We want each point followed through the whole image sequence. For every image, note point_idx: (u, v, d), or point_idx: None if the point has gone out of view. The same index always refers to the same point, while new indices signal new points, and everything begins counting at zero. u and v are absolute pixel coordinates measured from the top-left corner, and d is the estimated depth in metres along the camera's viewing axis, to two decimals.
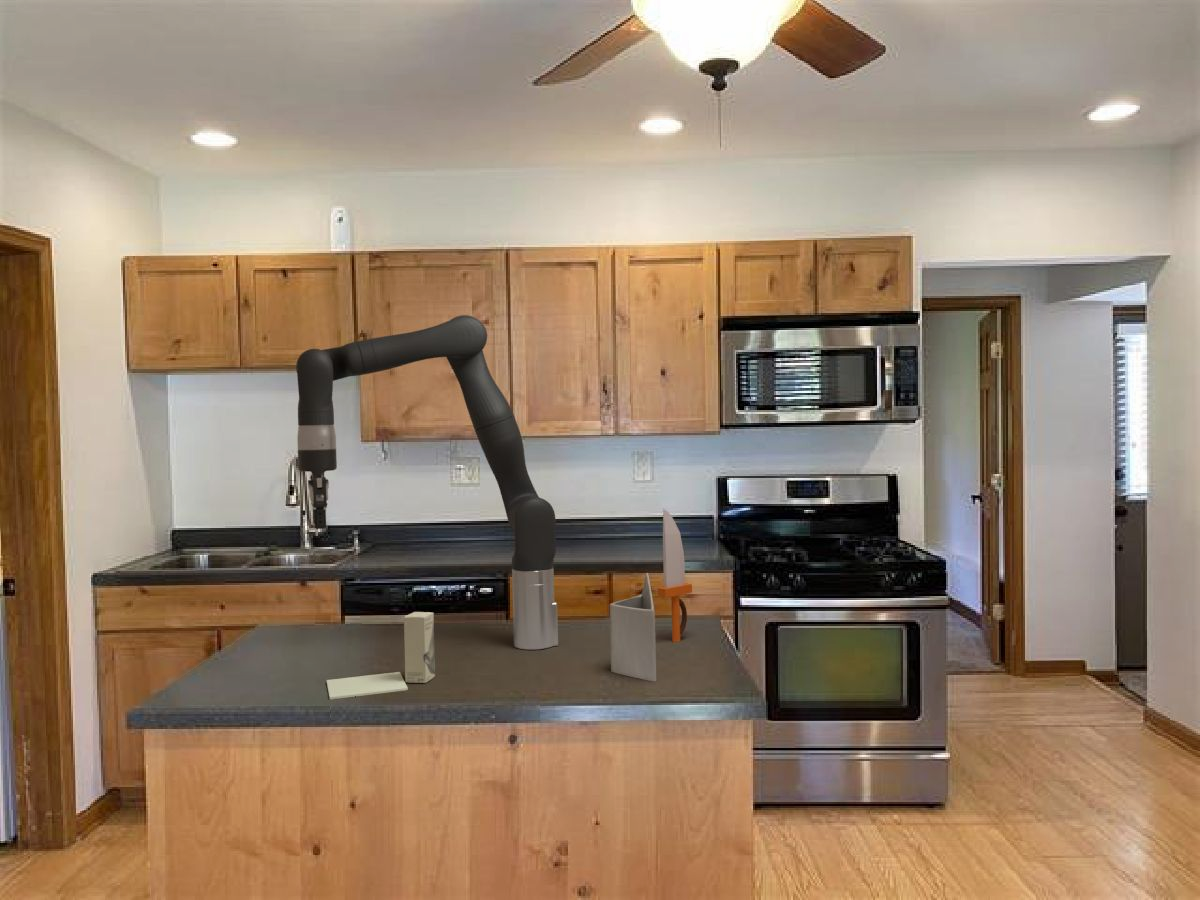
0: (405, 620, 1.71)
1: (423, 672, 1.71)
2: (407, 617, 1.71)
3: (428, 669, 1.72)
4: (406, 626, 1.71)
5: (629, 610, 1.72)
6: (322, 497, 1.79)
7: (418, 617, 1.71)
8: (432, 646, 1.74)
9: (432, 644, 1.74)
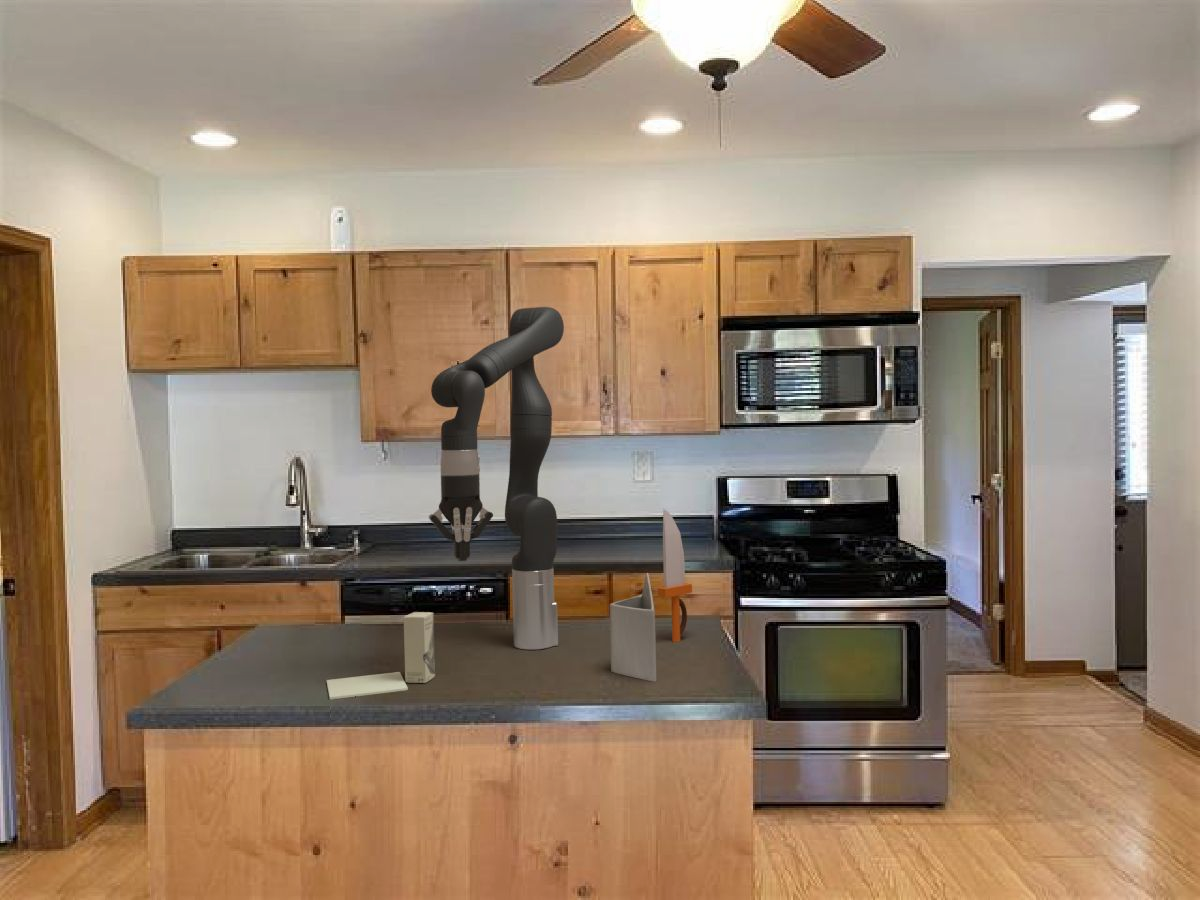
0: (405, 620, 1.71)
1: (423, 671, 1.71)
2: (407, 617, 1.71)
3: (428, 669, 1.72)
4: (406, 626, 1.71)
5: (629, 610, 1.72)
6: None
7: (418, 617, 1.71)
8: (432, 646, 1.74)
9: (432, 644, 1.74)
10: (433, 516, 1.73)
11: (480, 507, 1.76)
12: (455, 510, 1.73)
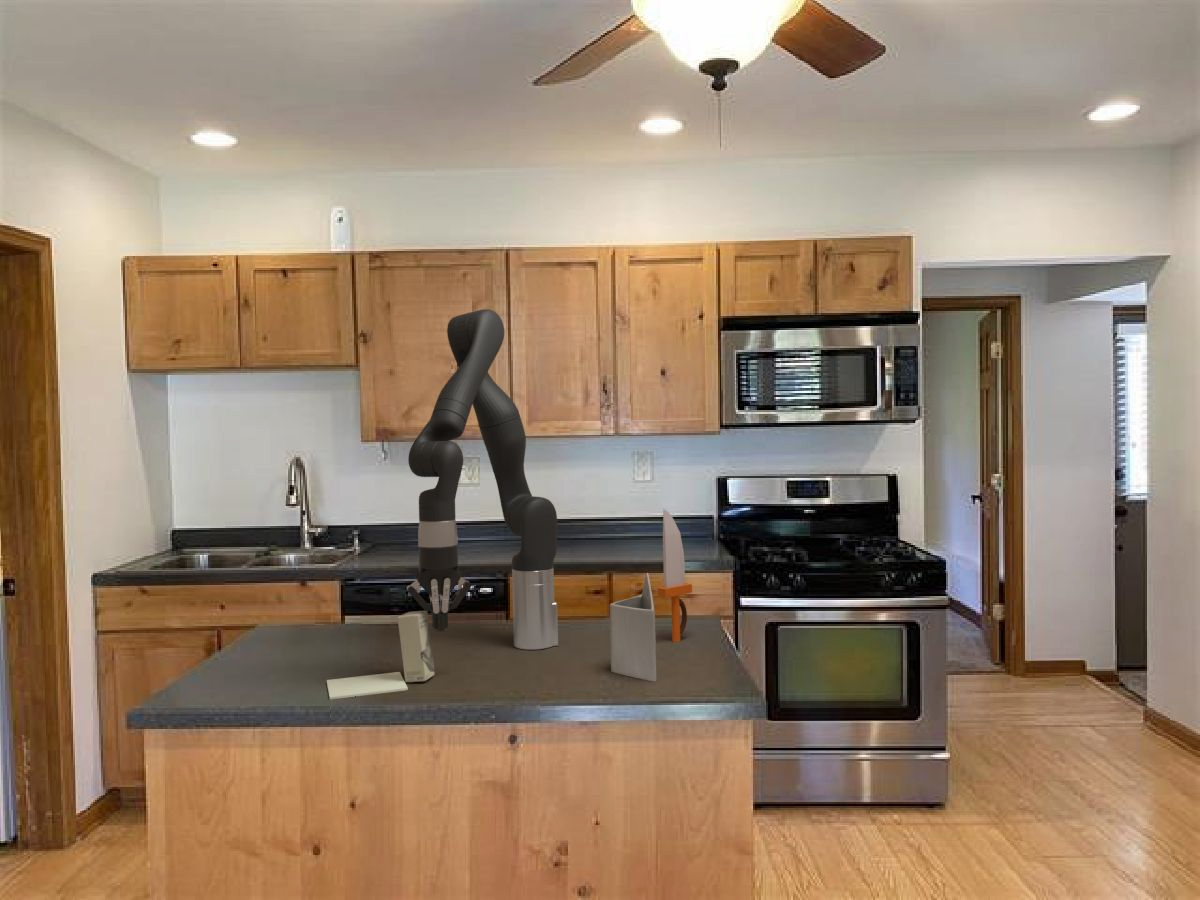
0: (399, 620, 1.72)
1: (422, 670, 1.71)
2: (401, 617, 1.72)
3: (426, 667, 1.72)
4: (401, 626, 1.72)
5: (629, 610, 1.72)
6: None
7: (412, 616, 1.71)
8: (429, 644, 1.75)
9: (429, 642, 1.75)
10: (410, 588, 1.71)
11: (458, 577, 1.75)
12: (433, 581, 1.72)
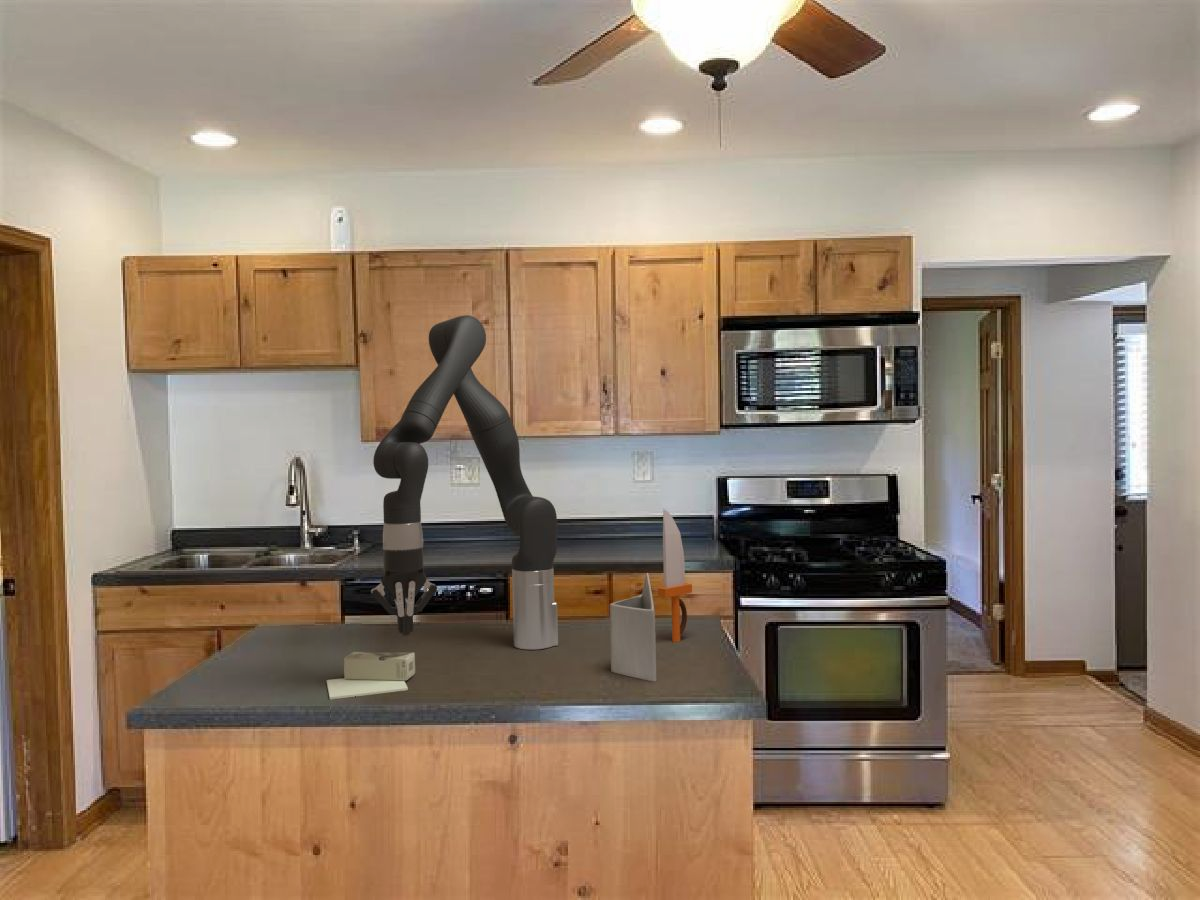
0: (347, 677, 1.73)
1: (395, 660, 1.72)
2: (344, 675, 1.73)
3: (397, 656, 1.73)
4: (353, 676, 1.73)
5: (629, 610, 1.72)
6: None
7: (344, 664, 1.73)
8: (382, 653, 1.76)
9: (381, 653, 1.76)
10: (375, 591, 1.69)
11: (424, 580, 1.72)
12: (397, 585, 1.70)
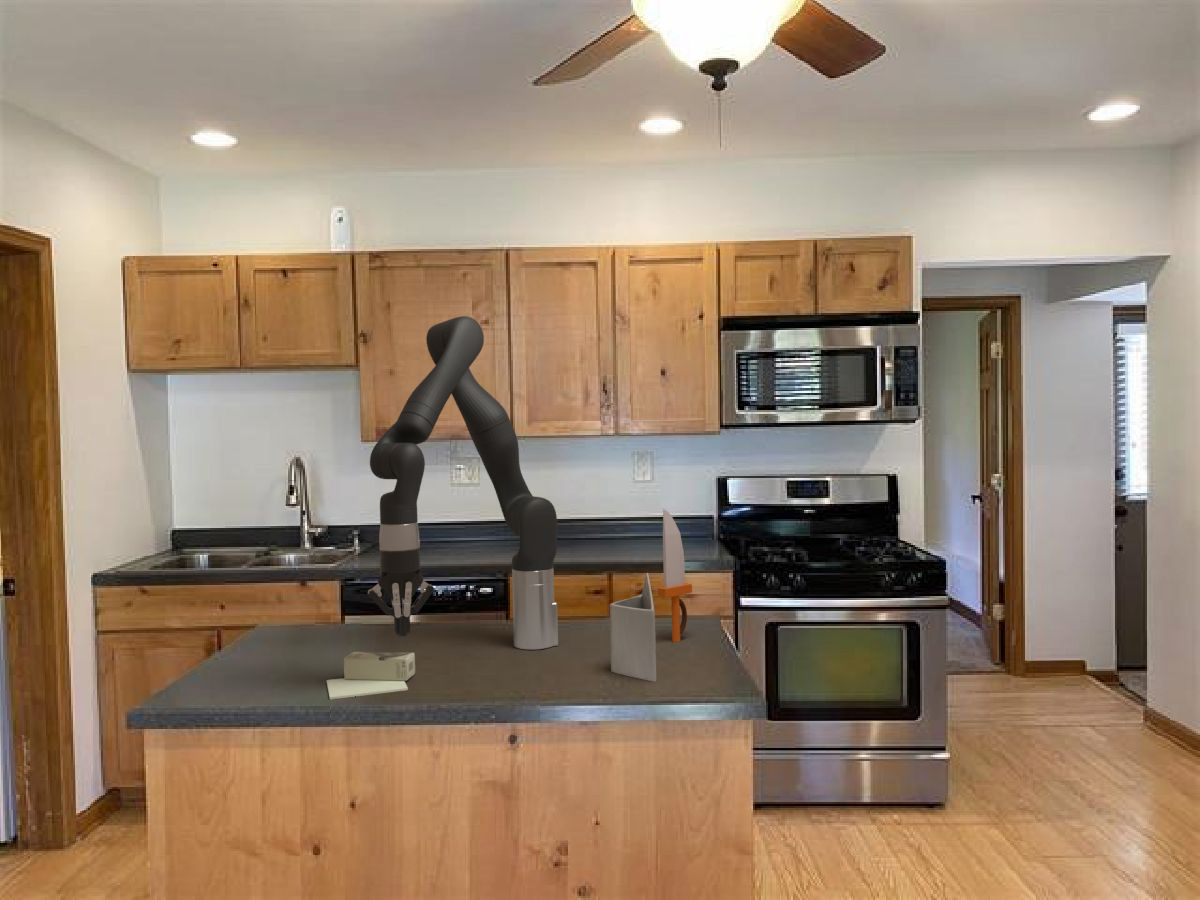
0: (347, 677, 1.73)
1: (395, 660, 1.72)
2: (344, 675, 1.73)
3: (397, 657, 1.73)
4: (353, 676, 1.73)
5: (629, 610, 1.72)
6: None
7: (344, 664, 1.73)
8: (382, 653, 1.76)
9: (380, 653, 1.76)
10: (371, 592, 1.69)
11: (420, 581, 1.72)
12: (394, 585, 1.70)
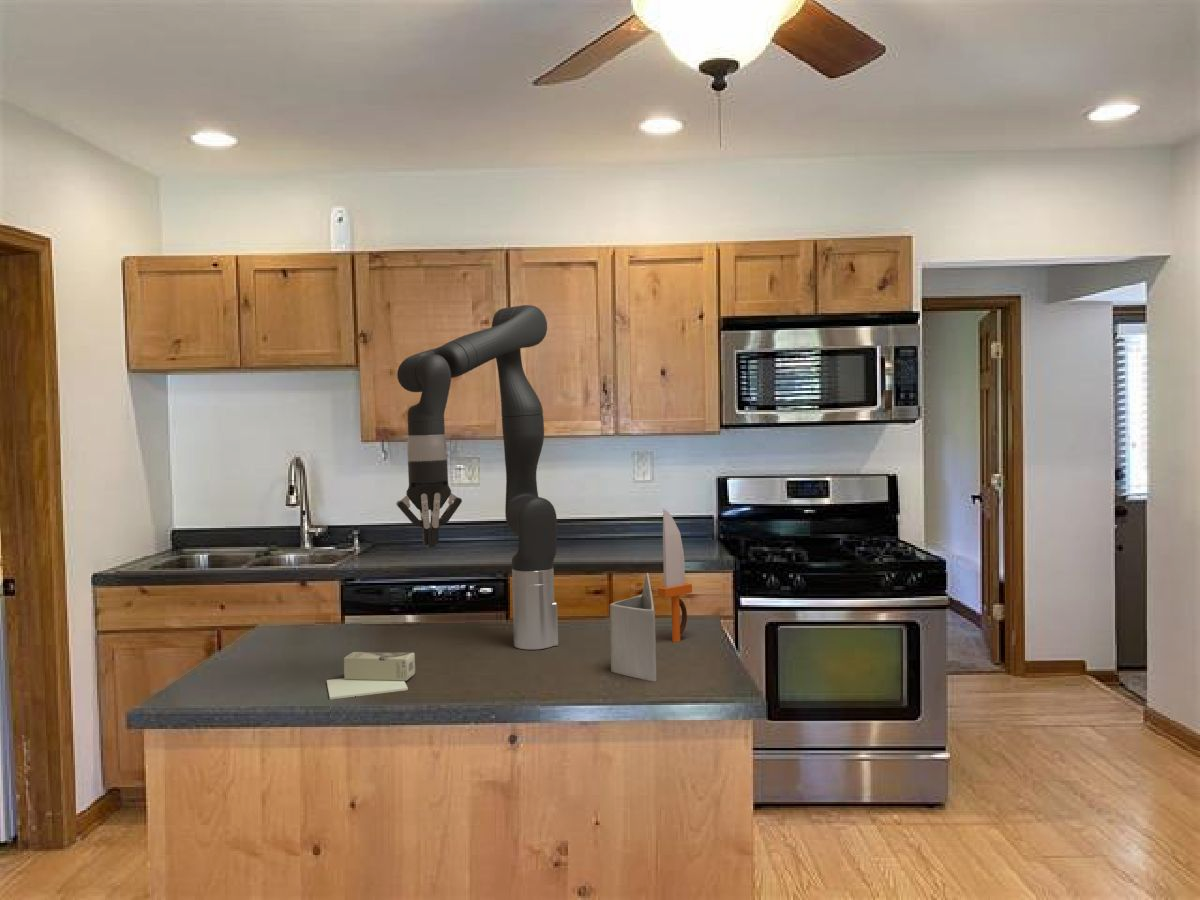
0: (347, 677, 1.73)
1: (395, 660, 1.72)
2: (344, 675, 1.73)
3: (397, 657, 1.73)
4: (353, 676, 1.73)
5: (629, 610, 1.72)
6: None
7: (344, 664, 1.73)
8: (382, 653, 1.76)
9: (380, 653, 1.76)
10: (400, 502, 1.70)
11: (448, 493, 1.74)
12: (423, 496, 1.71)
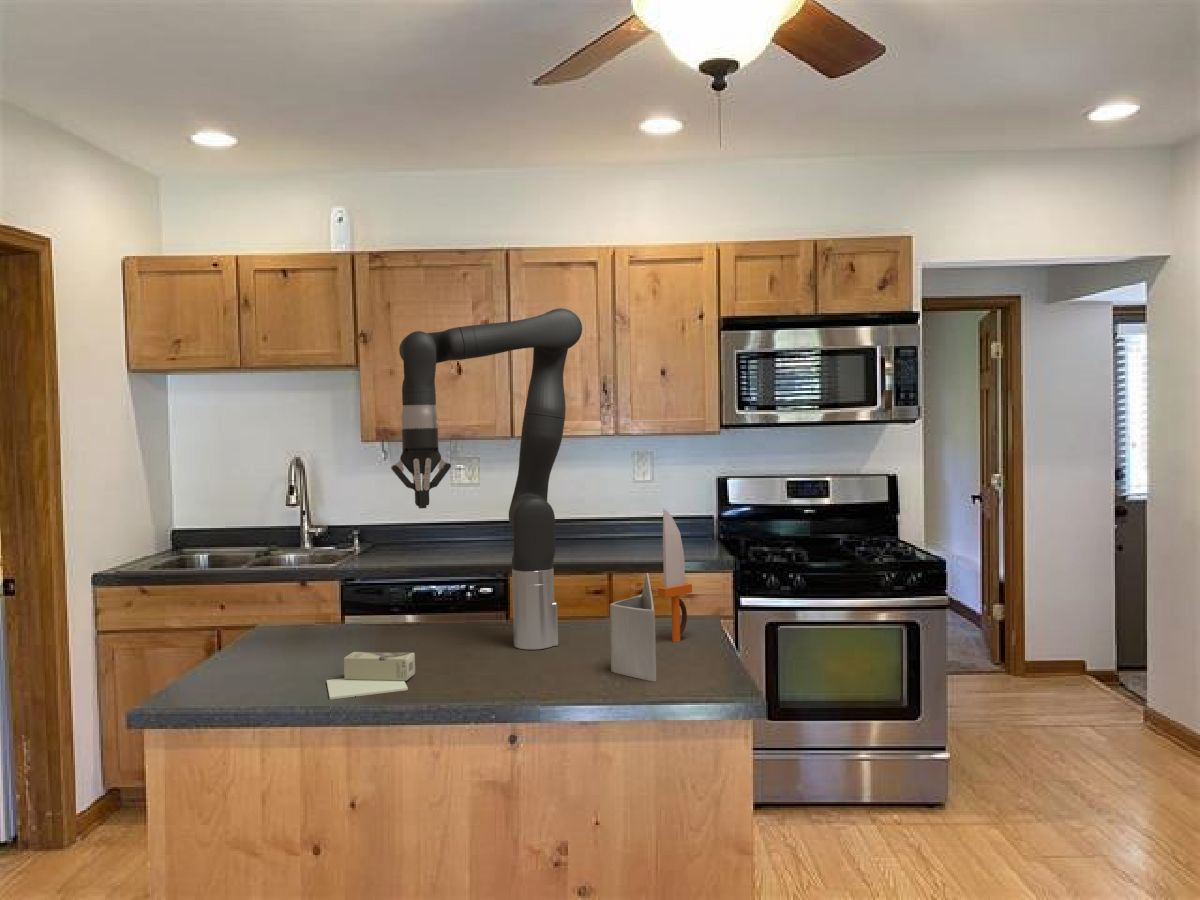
0: (347, 677, 1.73)
1: (395, 660, 1.72)
2: (344, 675, 1.73)
3: (397, 657, 1.73)
4: (353, 676, 1.73)
5: (629, 610, 1.72)
6: None
7: (344, 664, 1.73)
8: (382, 653, 1.76)
9: (380, 653, 1.76)
10: (394, 466, 1.87)
11: (439, 458, 1.90)
12: (415, 461, 1.87)
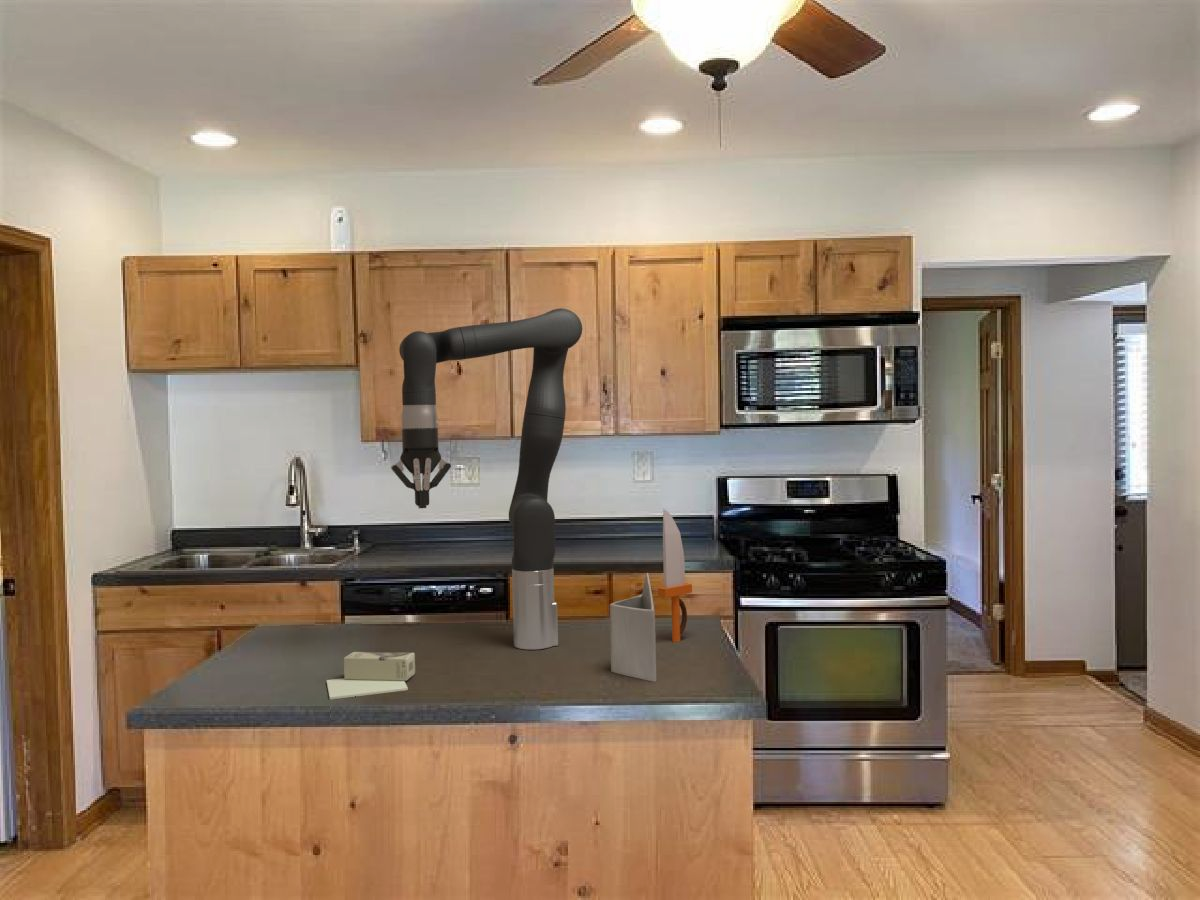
0: (347, 677, 1.73)
1: (395, 660, 1.72)
2: (344, 675, 1.73)
3: (397, 657, 1.73)
4: (353, 676, 1.73)
5: (629, 610, 1.72)
6: None
7: (344, 664, 1.73)
8: (382, 653, 1.76)
9: (380, 653, 1.76)
10: (394, 466, 1.87)
11: (439, 458, 1.90)
12: (415, 461, 1.87)
